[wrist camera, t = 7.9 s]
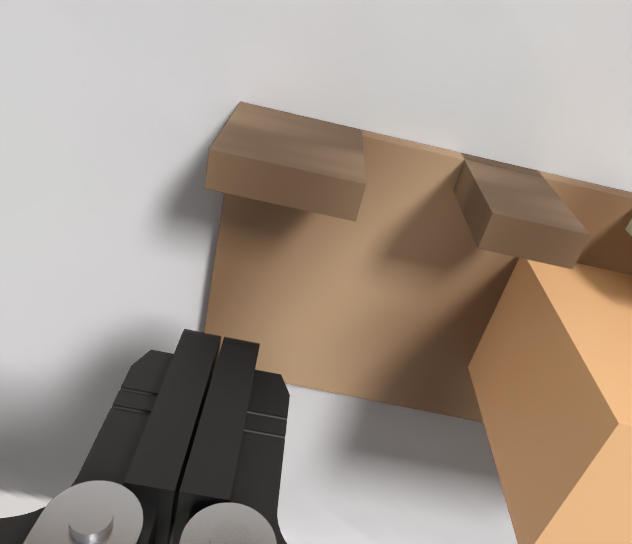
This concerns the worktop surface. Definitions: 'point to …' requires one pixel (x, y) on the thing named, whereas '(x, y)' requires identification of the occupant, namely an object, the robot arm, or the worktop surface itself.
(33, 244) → the worktop surface
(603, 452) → the block
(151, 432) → the robot arm
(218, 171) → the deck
